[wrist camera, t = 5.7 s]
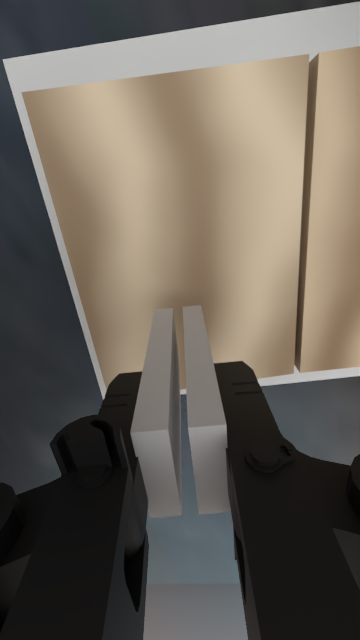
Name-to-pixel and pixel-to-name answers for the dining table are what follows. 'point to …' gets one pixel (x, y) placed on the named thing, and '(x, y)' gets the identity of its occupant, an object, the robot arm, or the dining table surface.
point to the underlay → (171, 56)
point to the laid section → (330, 217)
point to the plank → (182, 205)
